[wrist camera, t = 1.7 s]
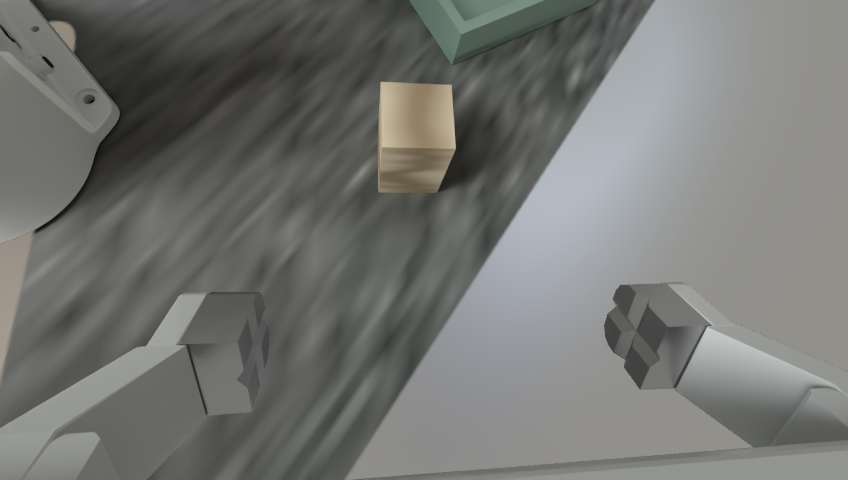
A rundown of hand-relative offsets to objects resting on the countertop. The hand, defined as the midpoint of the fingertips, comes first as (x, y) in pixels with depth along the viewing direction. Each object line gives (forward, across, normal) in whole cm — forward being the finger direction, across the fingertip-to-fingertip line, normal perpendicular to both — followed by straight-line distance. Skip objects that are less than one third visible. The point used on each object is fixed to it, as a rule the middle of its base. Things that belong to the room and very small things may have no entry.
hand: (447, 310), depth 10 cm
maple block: (+27, -2, +6) cm, 28 cm away
